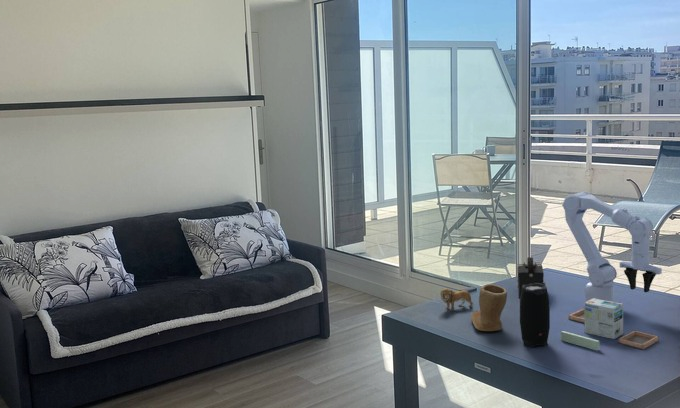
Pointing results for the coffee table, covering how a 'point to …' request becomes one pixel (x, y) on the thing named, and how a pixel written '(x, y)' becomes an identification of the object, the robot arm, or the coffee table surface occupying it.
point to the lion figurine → (455, 297)
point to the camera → (529, 274)
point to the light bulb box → (603, 318)
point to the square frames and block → (630, 339)
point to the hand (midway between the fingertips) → (639, 290)
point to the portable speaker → (534, 314)
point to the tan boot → (490, 308)
